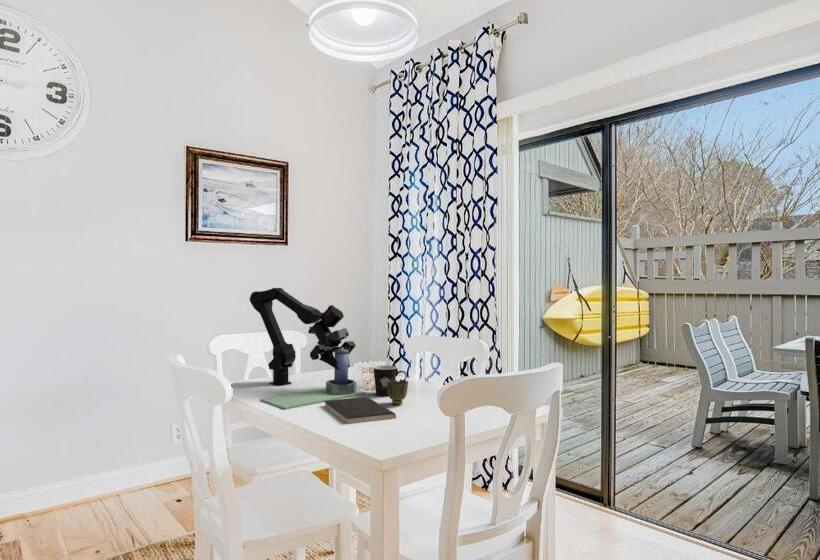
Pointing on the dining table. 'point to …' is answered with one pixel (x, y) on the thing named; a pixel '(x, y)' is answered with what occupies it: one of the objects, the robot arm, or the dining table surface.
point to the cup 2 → (397, 390)
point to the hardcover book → (359, 410)
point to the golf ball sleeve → (341, 366)
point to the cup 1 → (341, 387)
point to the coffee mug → (384, 378)
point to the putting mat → (305, 398)
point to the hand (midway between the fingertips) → (343, 367)
